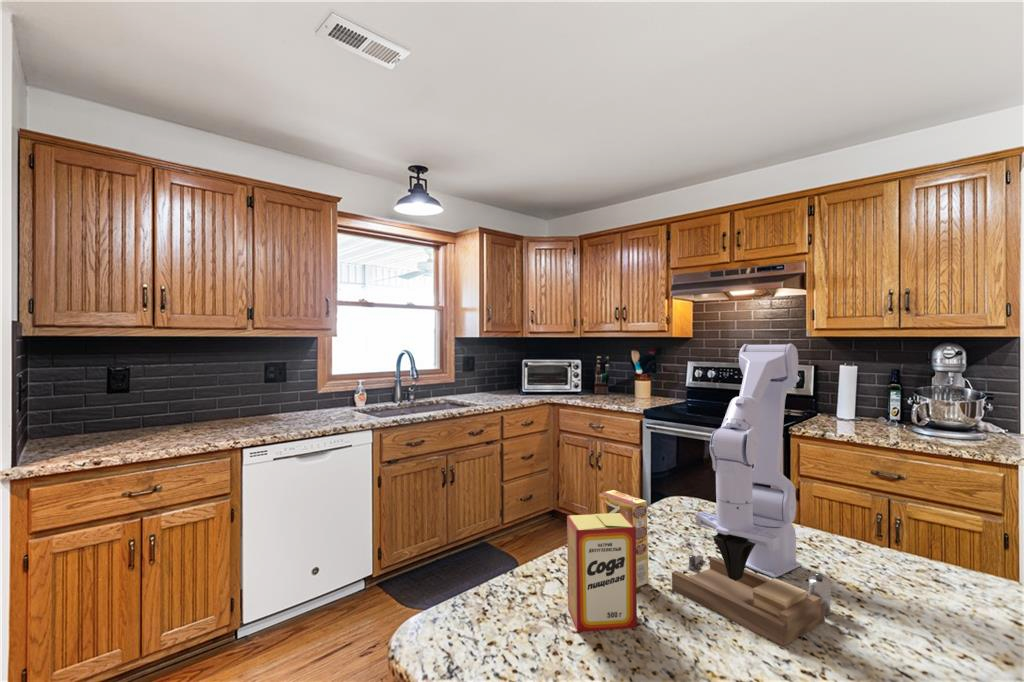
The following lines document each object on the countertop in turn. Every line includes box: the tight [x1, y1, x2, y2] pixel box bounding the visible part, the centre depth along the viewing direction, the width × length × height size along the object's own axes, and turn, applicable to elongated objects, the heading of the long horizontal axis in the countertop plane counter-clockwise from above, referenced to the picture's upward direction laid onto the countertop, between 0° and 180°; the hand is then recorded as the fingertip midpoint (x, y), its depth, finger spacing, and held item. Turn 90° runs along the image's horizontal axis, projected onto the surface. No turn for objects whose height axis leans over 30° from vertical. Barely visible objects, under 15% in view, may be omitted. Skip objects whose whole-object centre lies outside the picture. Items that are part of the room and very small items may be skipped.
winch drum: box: [808, 572, 831, 617], centre depth 81 cm, size 3×3×6 cm
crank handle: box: [688, 554, 704, 572], centre depth 98 cm, size 6×1×3 cm, turn 142°
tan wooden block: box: [753, 577, 808, 619], centre depth 78 cm, size 6×5×4 cm
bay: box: [671, 556, 826, 647], centre depth 83 cm, size 12×20×4 cm, turn 32°
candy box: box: [598, 489, 649, 589], centre depth 93 cm, size 9×4×15 cm, turn 33°
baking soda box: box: [566, 513, 638, 633], centre depth 79 cm, size 10×6×16 cm
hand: (735, 577), depth 84 cm, fingers closed
